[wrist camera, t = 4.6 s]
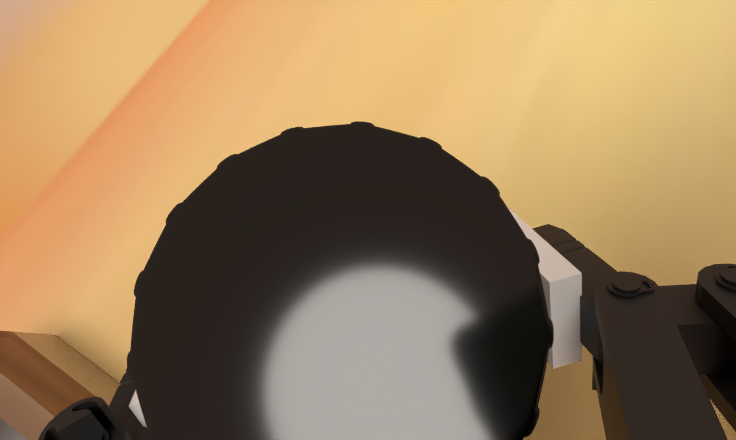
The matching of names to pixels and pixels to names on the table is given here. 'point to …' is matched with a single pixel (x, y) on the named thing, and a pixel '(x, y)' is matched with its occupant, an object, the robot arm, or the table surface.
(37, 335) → the hinge
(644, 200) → the table surface
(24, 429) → the holder
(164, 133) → the table surface
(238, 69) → the table surface
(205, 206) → the ink bottle
